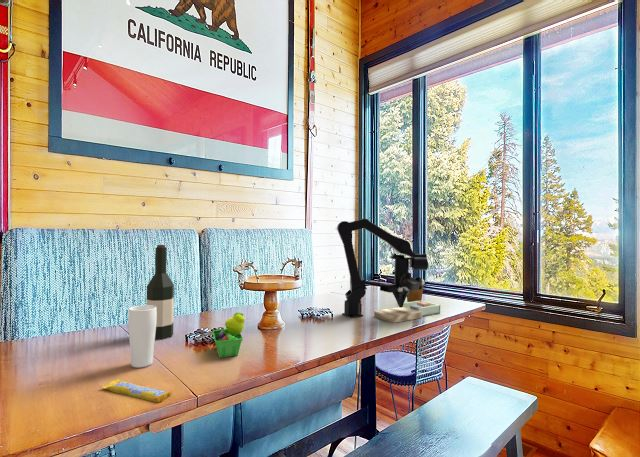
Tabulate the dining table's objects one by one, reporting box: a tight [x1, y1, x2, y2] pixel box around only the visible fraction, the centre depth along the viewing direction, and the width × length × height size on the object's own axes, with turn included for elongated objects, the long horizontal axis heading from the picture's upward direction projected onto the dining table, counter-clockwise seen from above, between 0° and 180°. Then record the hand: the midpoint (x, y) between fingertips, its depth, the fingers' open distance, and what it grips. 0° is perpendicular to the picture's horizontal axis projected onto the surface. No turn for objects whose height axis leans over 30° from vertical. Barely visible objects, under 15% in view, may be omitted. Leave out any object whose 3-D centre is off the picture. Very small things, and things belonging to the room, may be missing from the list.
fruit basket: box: [212, 311, 246, 358], centre depth 109 cm, size 11×9×11 cm
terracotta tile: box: [417, 301, 430, 307], centre depth 161 cm, size 4×4×3 cm
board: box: [373, 306, 423, 324], centre depth 153 cm, size 16×11×2 cm
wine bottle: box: [146, 244, 175, 341], centre depth 122 cm, size 8×8×30 cm
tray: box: [403, 300, 441, 317], centre depth 162 cm, size 13×11×4 cm
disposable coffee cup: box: [406, 279, 426, 302], centre depth 178 cm, size 10×10×12 cm
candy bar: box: [101, 378, 173, 404], centre depth 82 cm, size 17×4×2 cm, turn 69°
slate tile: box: [410, 305, 424, 311], centre depth 159 cm, size 4×4×3 cm
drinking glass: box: [127, 304, 157, 369], centre depth 97 cm, size 7×7×15 cm
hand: (400, 307), depth 154 cm, fingers closed
